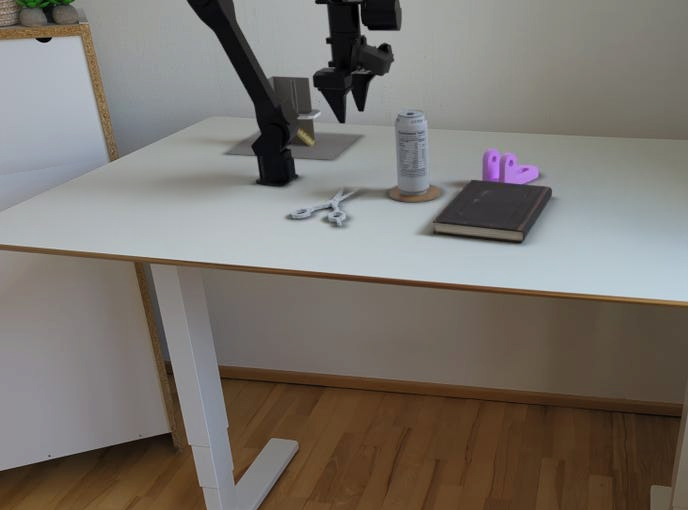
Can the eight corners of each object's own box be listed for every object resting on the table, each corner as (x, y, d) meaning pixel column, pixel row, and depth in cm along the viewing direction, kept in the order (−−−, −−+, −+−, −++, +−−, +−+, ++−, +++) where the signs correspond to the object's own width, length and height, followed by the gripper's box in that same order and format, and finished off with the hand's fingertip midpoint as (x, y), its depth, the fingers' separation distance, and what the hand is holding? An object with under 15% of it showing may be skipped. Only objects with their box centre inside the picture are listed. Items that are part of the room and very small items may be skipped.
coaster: (380, 198, 152) (380, 196, 151) (401, 182, 160) (401, 180, 159) (428, 204, 149) (428, 202, 148) (448, 188, 157) (448, 186, 156)
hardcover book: (433, 233, 136) (432, 220, 135) (471, 190, 155) (471, 179, 154) (523, 243, 132) (524, 230, 131) (551, 198, 151) (552, 186, 150)
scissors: (284, 217, 141) (330, 181, 158) (285, 221, 142) (330, 184, 158) (340, 222, 139) (380, 185, 155) (340, 226, 139) (380, 189, 156)
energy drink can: (431, 186, 156) (429, 109, 149) (426, 197, 151) (424, 117, 143) (401, 185, 157) (397, 108, 149) (395, 196, 152) (391, 116, 144)
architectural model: (331, 159, 173) (325, 90, 166) (225, 153, 178) (214, 85, 170) (360, 135, 190) (355, 71, 182) (262, 130, 194) (254, 67, 187)
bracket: (504, 191, 155) (505, 156, 151) (482, 185, 158) (482, 150, 154) (543, 175, 163) (545, 141, 160) (521, 169, 166) (522, 136, 163)
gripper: (366, 40, 135) (372, 132, 143) (403, 24, 151) (407, 108, 159) (307, 38, 138) (316, 128, 146) (349, 22, 153) (356, 105, 161)
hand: (352, 117), depth 153 cm, fingers open, 9 cm apart
